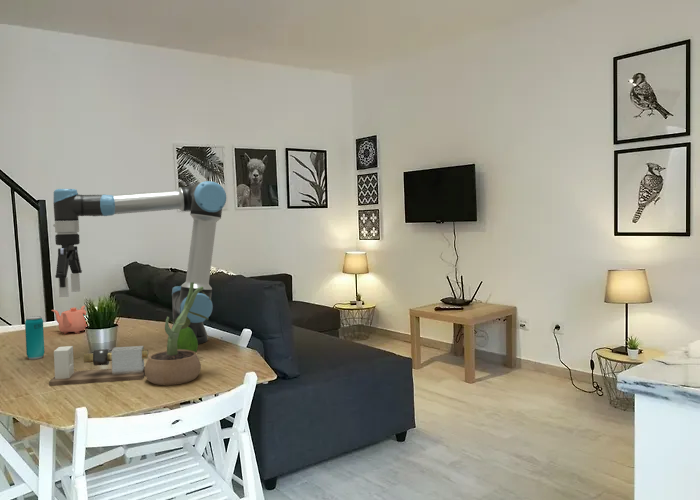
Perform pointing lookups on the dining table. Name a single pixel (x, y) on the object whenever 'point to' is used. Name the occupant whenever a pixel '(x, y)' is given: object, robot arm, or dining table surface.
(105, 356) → the tube
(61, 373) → the socket
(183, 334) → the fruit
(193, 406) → the dining table surface
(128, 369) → the sleeve
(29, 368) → the dining table surface
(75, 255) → the robot arm
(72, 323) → the teapot
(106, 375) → the board
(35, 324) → the beverage can
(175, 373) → the potted plant
